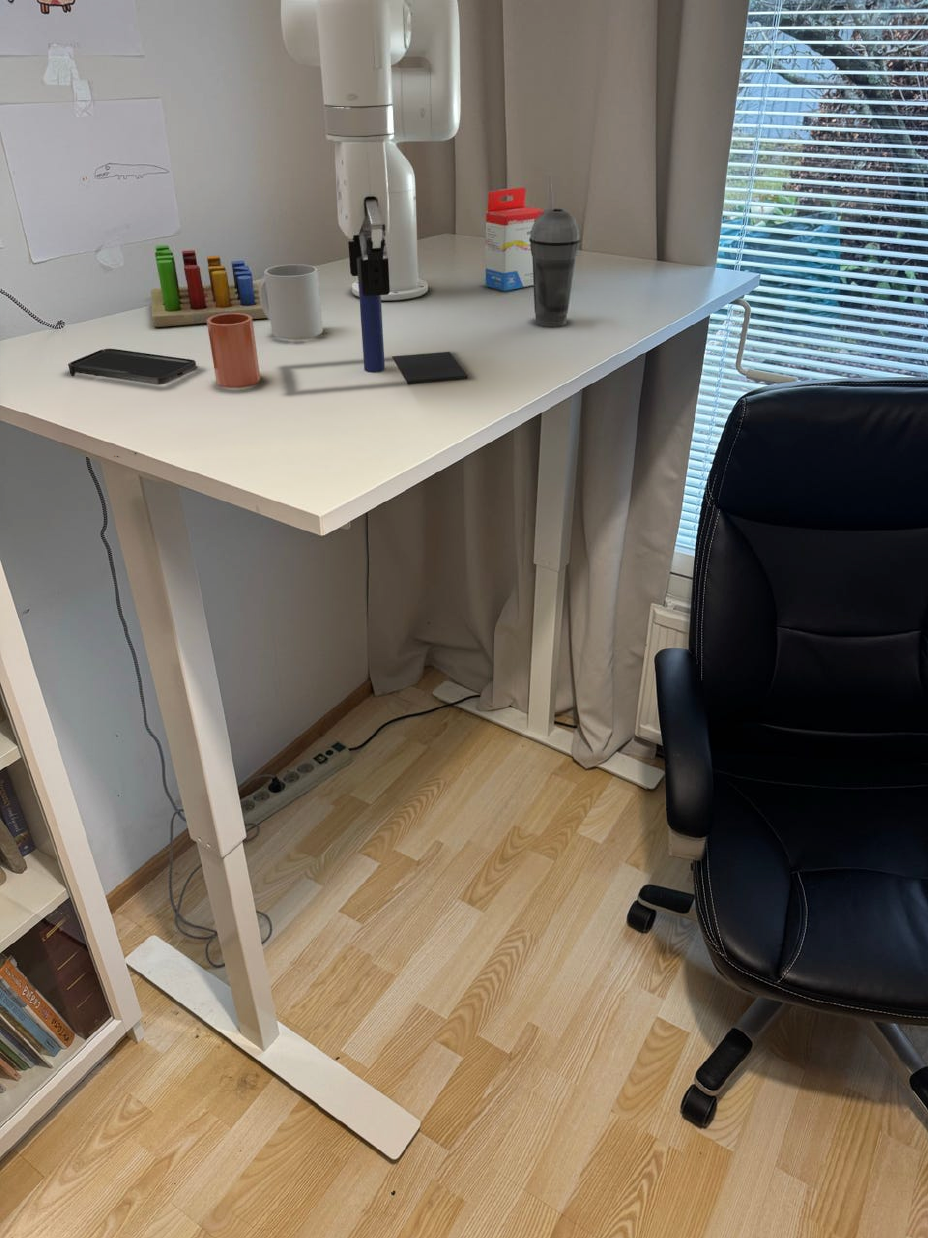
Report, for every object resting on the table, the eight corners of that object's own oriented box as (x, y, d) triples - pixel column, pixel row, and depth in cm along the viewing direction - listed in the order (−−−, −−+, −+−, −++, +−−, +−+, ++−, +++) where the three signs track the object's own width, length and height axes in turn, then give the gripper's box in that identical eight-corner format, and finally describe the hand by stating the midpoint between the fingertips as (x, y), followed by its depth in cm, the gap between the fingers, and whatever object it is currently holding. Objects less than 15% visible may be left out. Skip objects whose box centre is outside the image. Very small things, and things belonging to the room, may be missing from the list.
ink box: (503, 292, 147) (505, 194, 139) (484, 286, 151) (485, 191, 142) (541, 284, 152) (545, 189, 144) (522, 278, 155) (524, 185, 147)
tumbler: (217, 379, 112) (206, 314, 108) (259, 375, 113) (251, 311, 109) (217, 393, 108) (206, 326, 103) (262, 389, 109) (253, 323, 104)
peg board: (273, 318, 135) (266, 258, 130) (154, 328, 131) (142, 267, 126) (260, 290, 149) (253, 235, 144) (152, 299, 145) (141, 243, 140)
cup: (299, 346, 123) (292, 278, 118) (247, 334, 128) (238, 269, 123) (333, 333, 128) (328, 268, 123) (282, 322, 133) (275, 259, 128)
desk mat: (284, 367, 116) (284, 364, 115) (449, 354, 120) (449, 351, 120) (291, 393, 108) (291, 390, 107) (467, 378, 112) (467, 375, 112)
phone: (105, 347, 119) (199, 360, 114) (107, 356, 120) (200, 368, 115) (63, 365, 113) (160, 379, 108) (65, 374, 114) (161, 388, 109)
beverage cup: (572, 330, 129) (582, 177, 118) (522, 328, 130) (527, 176, 119) (577, 317, 135) (587, 170, 124) (529, 314, 136) (535, 169, 125)
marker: (362, 367, 114) (355, 255, 107) (382, 366, 115) (376, 254, 107) (366, 374, 112) (358, 260, 105) (386, 372, 113) (380, 259, 105)
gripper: (317, 117, 104) (330, 269, 114) (335, 133, 91) (348, 305, 100) (380, 115, 106) (387, 266, 116) (407, 130, 92) (413, 300, 102)
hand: (369, 284), depth 108 cm, fingers open, 9 cm apart
